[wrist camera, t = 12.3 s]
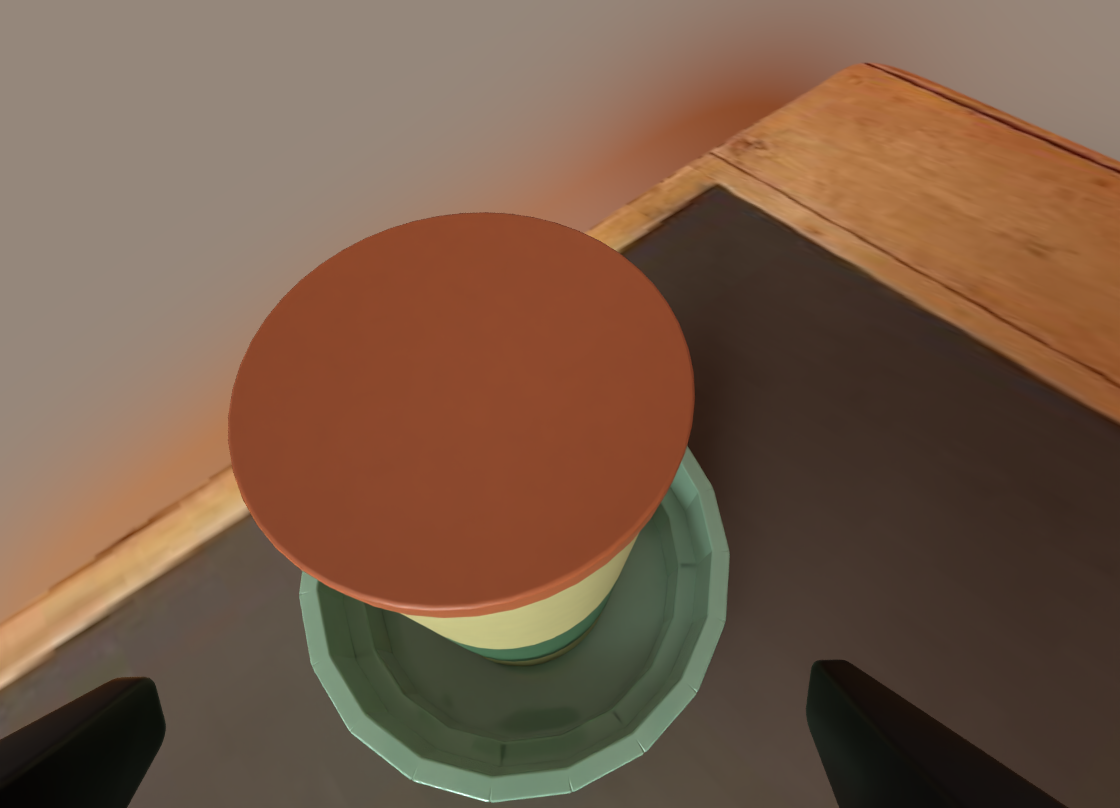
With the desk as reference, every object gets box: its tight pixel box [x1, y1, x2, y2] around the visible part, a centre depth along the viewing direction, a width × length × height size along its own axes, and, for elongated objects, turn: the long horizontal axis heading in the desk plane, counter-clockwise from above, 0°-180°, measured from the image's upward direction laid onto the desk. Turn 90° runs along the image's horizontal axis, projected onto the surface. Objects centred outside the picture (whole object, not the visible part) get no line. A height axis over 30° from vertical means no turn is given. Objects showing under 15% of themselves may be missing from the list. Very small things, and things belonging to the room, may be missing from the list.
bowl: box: [299, 446, 730, 803], centre depth 17 cm, size 12×12×4 cm
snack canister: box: [228, 212, 695, 666], centre depth 12 cm, size 6×6×13 cm
